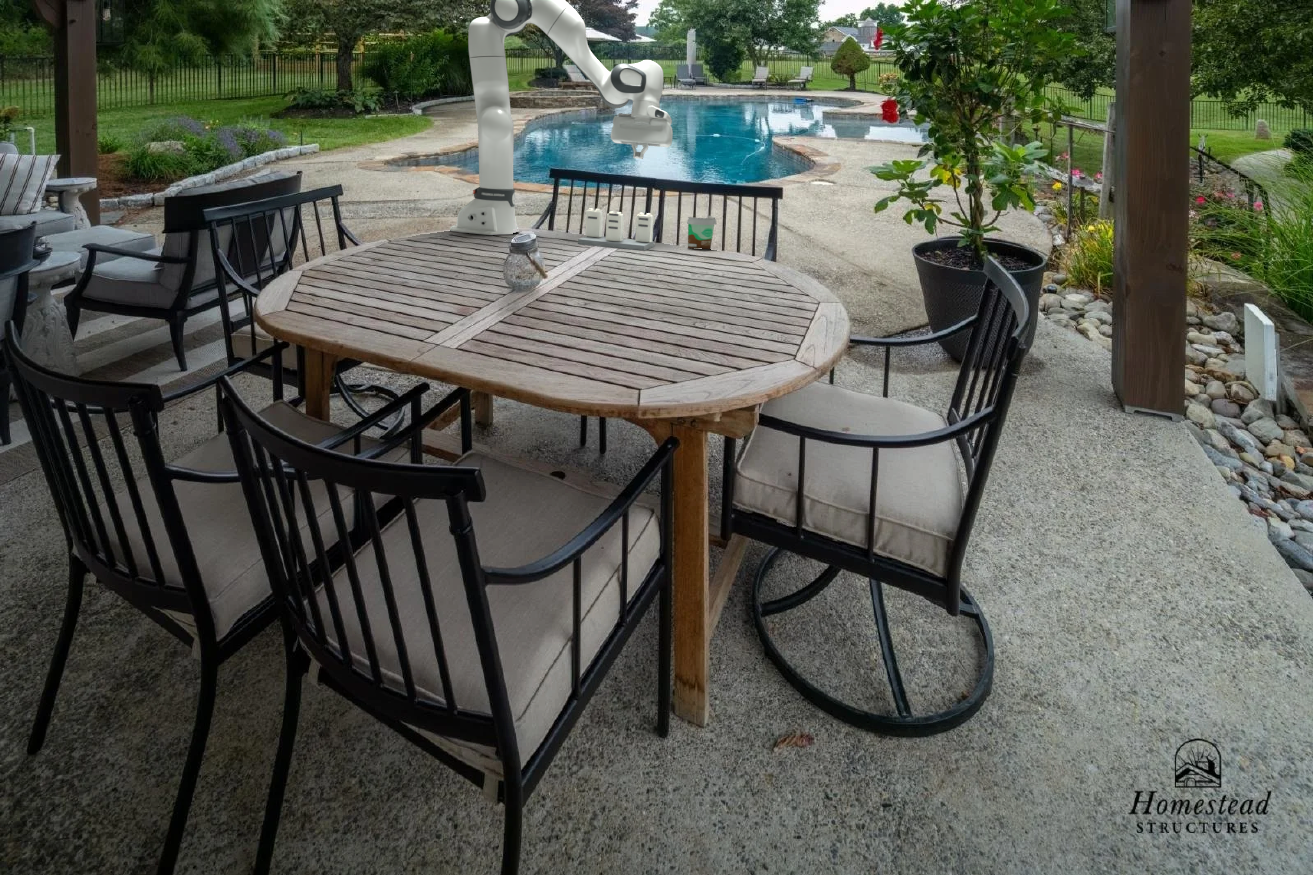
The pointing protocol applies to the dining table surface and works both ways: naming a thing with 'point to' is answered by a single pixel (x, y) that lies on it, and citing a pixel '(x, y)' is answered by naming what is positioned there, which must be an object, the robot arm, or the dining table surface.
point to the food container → (700, 232)
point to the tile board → (616, 243)
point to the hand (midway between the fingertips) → (638, 158)
